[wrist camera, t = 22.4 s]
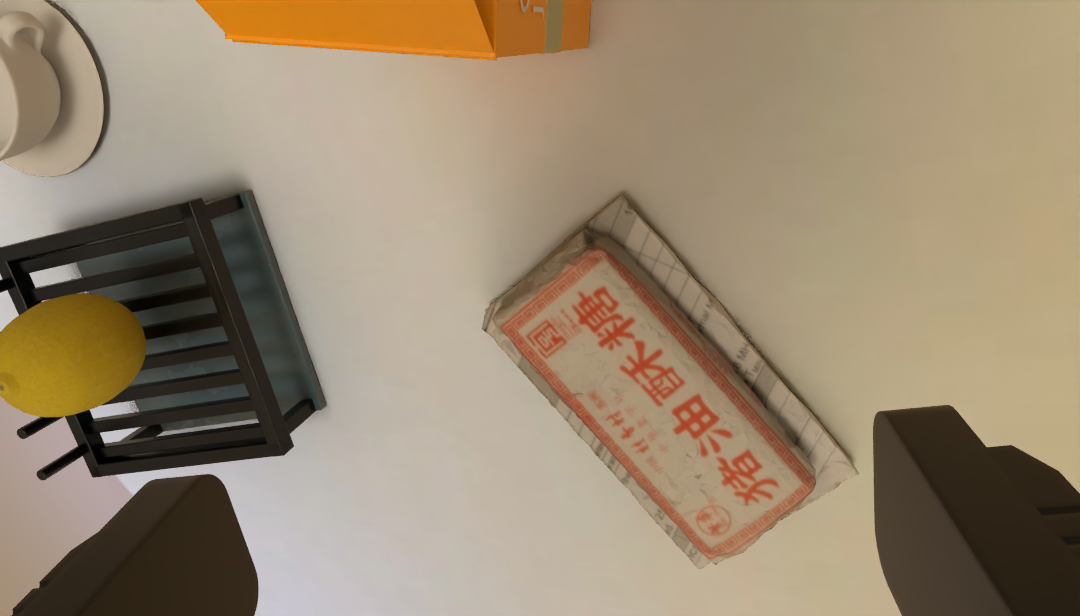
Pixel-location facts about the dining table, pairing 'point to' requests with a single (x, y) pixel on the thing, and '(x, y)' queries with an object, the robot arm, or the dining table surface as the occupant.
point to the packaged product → (665, 387)
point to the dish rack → (182, 334)
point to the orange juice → (409, 25)
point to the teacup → (46, 91)
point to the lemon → (69, 355)
